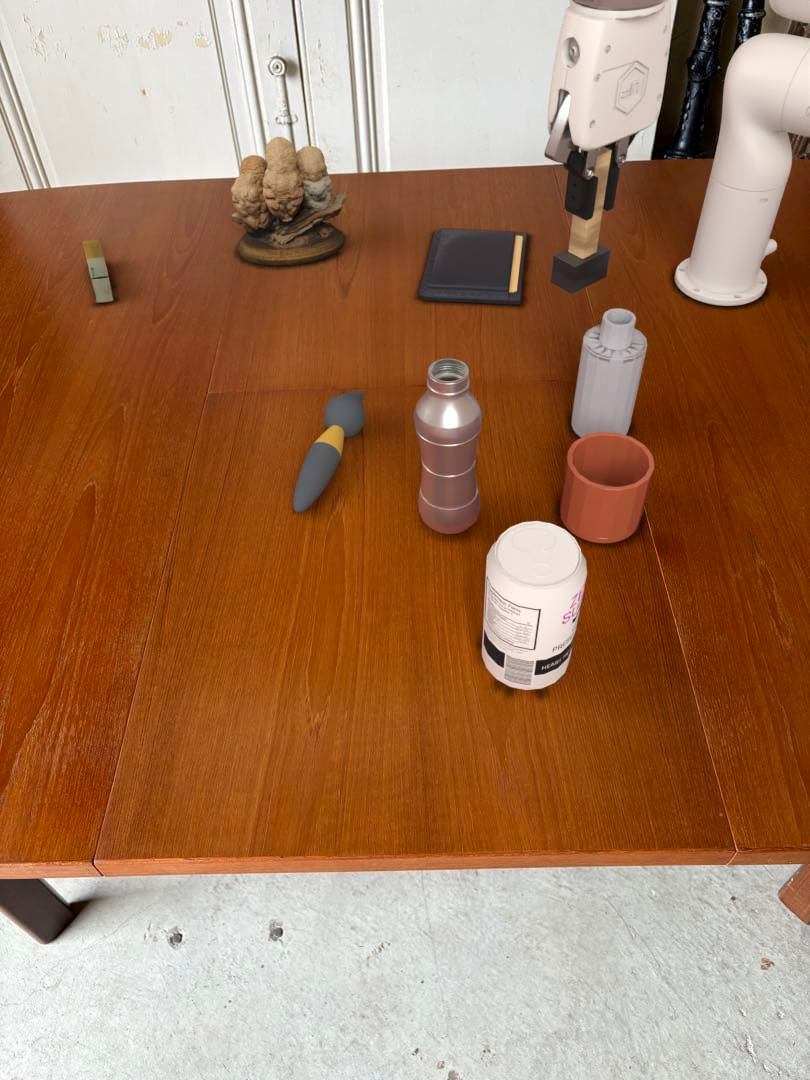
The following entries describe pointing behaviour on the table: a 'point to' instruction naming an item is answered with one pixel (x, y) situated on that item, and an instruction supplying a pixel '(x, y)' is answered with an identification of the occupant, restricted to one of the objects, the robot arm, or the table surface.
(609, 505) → the holder
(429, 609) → the table surface
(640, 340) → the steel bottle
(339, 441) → the paintbrush
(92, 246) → the medication box
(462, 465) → the silver aluminum bottle
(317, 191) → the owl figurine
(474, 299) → the wallet
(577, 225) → the brush
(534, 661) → the supplement can
